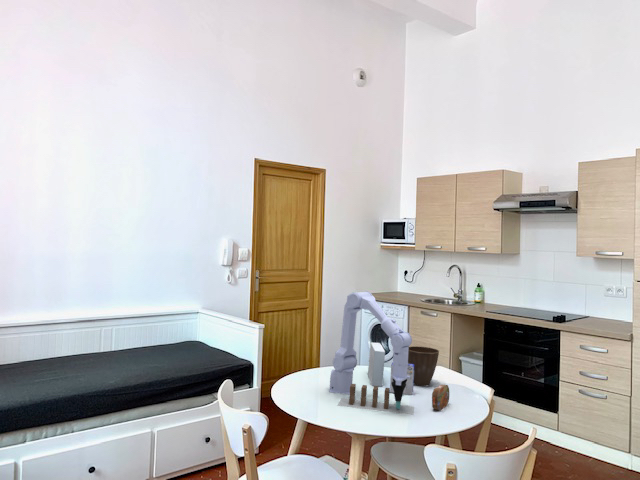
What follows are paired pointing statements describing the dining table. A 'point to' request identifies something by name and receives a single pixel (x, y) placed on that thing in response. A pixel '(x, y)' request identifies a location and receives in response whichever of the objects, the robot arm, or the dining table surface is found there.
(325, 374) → the dining table surface
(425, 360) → the plant pot
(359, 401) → the mat
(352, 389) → the walnut tile
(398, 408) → the teal end tile
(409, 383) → the ink cartridge box
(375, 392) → the walnut tile
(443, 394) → the tin
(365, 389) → the walnut tile
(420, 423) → the dining table surface
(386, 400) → the walnut tile
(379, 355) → the skincare box
